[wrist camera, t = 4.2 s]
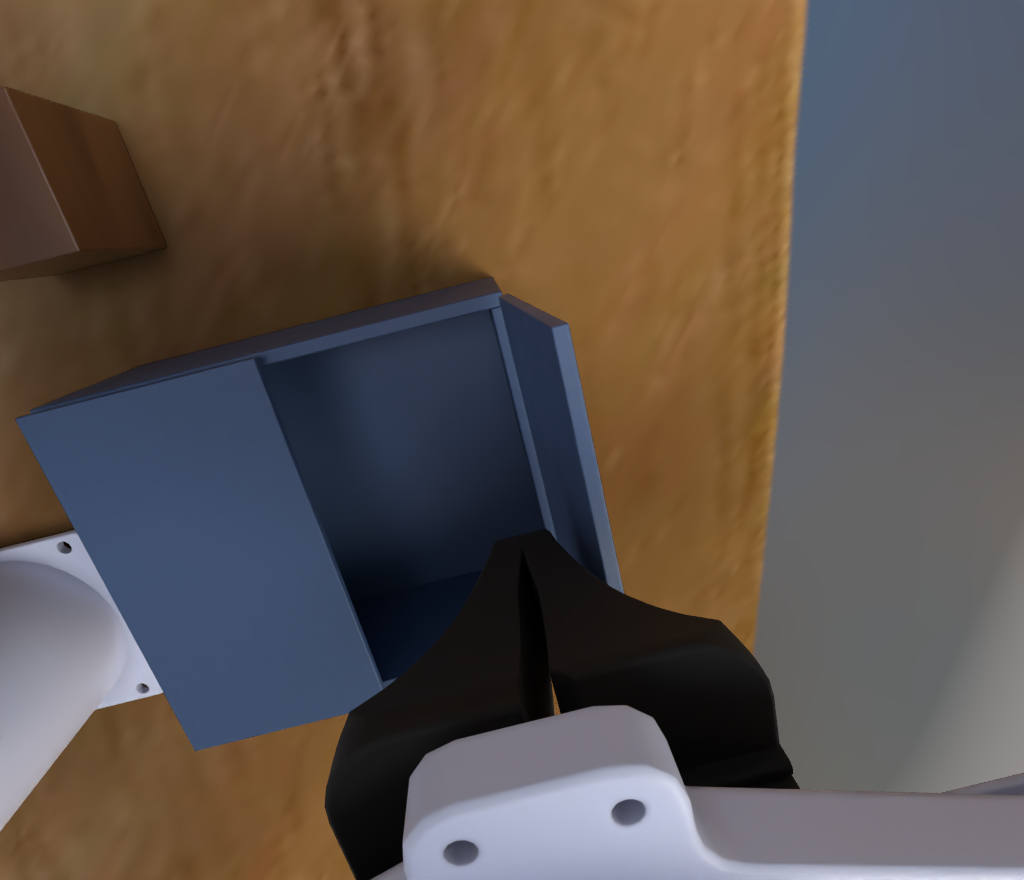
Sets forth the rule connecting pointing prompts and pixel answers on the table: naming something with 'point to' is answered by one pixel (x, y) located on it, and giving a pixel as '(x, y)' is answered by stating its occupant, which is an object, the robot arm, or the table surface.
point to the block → (66, 191)
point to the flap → (561, 435)
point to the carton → (299, 502)
